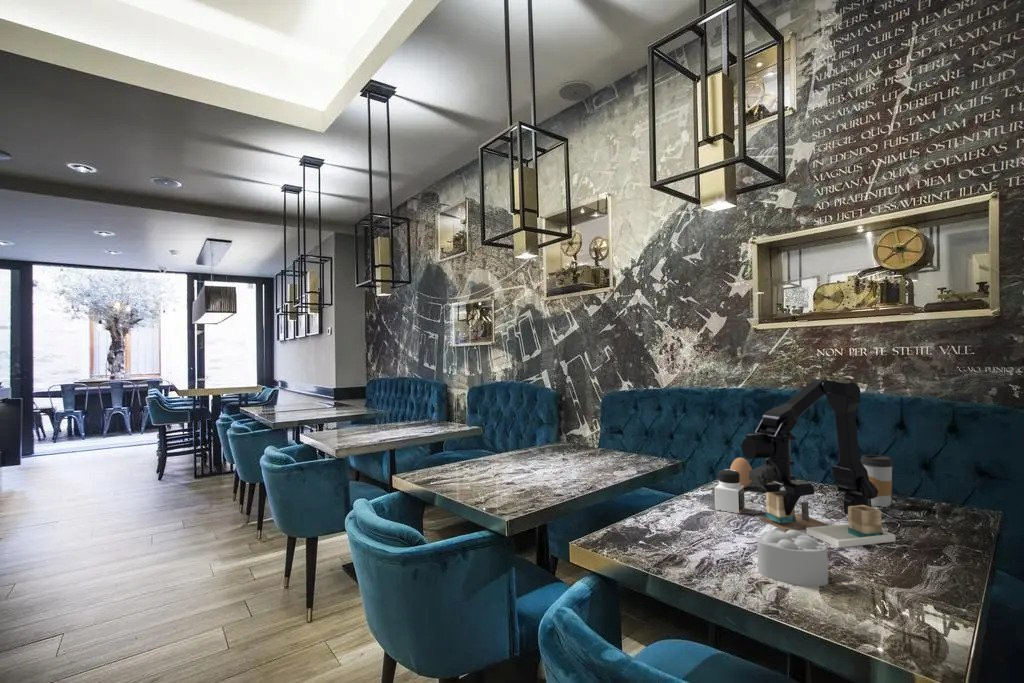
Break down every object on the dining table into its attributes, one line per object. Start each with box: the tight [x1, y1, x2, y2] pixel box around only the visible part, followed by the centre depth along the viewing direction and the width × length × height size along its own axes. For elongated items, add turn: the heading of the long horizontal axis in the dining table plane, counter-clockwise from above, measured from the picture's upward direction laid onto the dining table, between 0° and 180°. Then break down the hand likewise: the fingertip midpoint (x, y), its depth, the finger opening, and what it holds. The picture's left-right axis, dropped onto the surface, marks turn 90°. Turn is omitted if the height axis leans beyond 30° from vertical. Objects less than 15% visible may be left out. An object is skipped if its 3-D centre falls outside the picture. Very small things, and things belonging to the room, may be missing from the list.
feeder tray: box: [805, 522, 897, 549], centre depth 127 cm, size 17×10×2 cm, turn 102°
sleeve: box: [847, 505, 883, 537], centre depth 128 cm, size 5×5×7 cm
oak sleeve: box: [765, 491, 796, 523], centre depth 138 cm, size 5×5×7 cm
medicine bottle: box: [714, 468, 746, 514], centre depth 154 cm, size 7×7×12 cm
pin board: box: [758, 501, 829, 532], centre depth 139 cm, size 14×10×6 cm
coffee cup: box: [860, 454, 894, 508], centre depth 156 cm, size 8×8×15 cm
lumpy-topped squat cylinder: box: [756, 529, 829, 587], centre depth 108 cm, size 10×13×9 cm
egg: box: [729, 457, 753, 489], centre depth 178 cm, size 8×8×11 cm
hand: (780, 512), depth 138 cm, fingers closed on oak sleeve, 5 cm apart
